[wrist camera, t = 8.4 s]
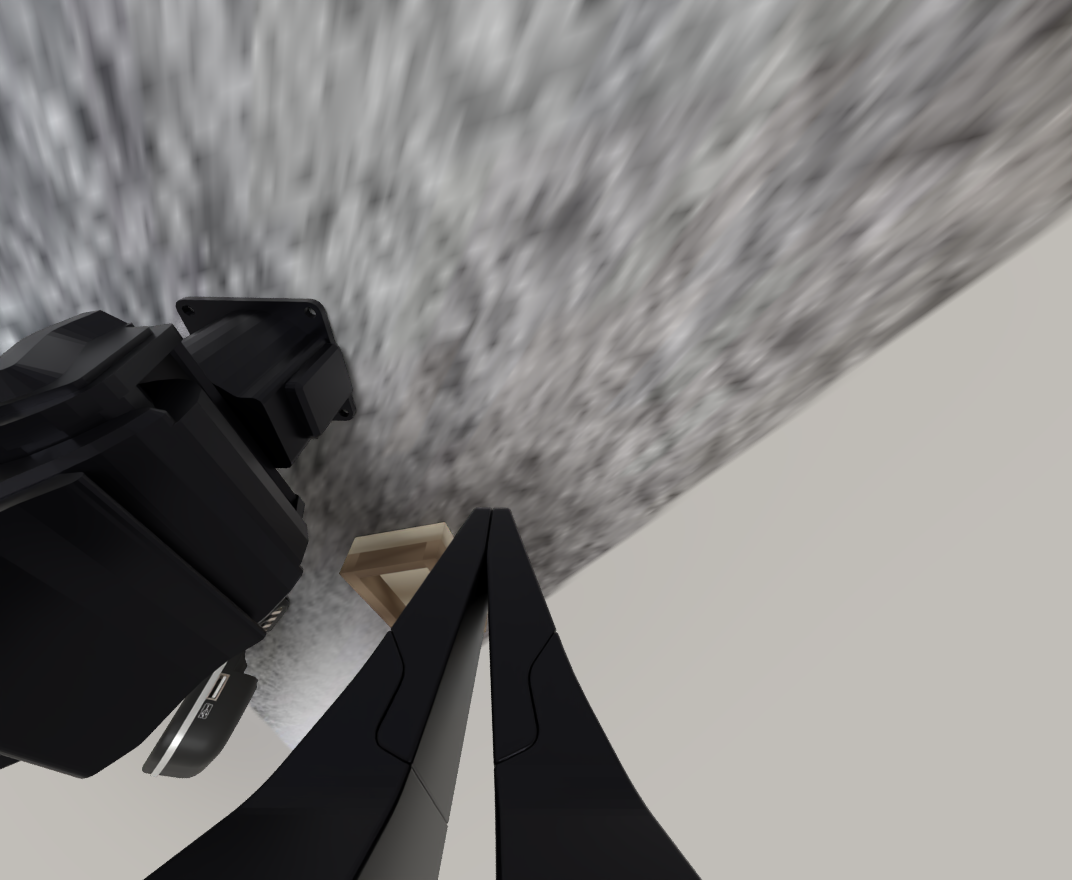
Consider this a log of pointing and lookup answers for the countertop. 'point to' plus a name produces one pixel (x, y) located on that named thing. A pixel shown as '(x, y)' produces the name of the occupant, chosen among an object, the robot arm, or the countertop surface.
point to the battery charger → (207, 716)
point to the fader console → (394, 566)
